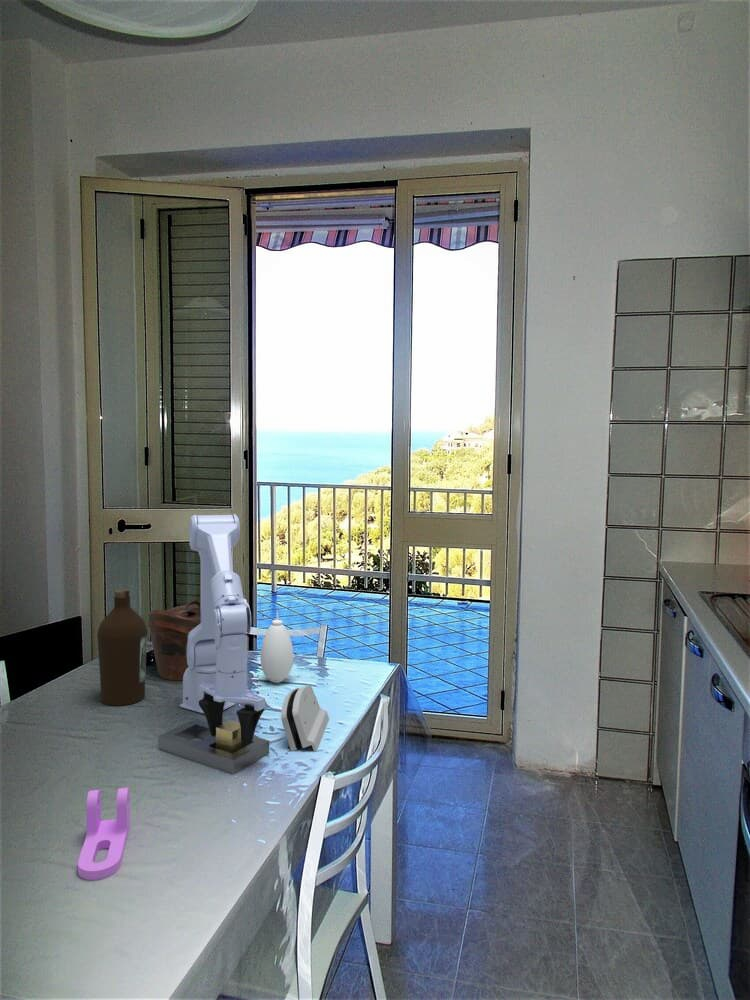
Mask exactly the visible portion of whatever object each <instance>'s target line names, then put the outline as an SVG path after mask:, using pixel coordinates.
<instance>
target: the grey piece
mask: <svg viewBox="0 0 750 1000" xmlns="http://www.w3.org/2000/svg"><path fill="white" fill-rule="evenodd" d="M280 712H281V714H280V719H281V722H282V726H283V729H284V732H285V736H286V740H287V742H288V745H289V746H288V747H289V750H290V751H291V752H292V751H293V752H295V751H297V750H298V748H299V747H302V749H305V748H308V747H310V746H311V747H312V750H313V752H314V753H317V752H318V749H319V747H320V743H321V742H322V739H323V736H324V734H325V732H326V731H325V730H326V728H327V726H328V723H329V720H330V717H329V714H328V712H327V710H325V709H322V708H321V707H320V704H319V701H318V699H317V697H316V694H315V691H314V689H313V687H312V686H311V685H305V686H303V685H302V686H301V687H297V688H294V689H293V690H291V691H288V693H287V694H286V696H285V697H284V700H283V703H282V707H281V711H280Z"/></svg>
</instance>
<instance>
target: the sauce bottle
mask: <svg viewBox="0 0 750 1000" xmlns="http://www.w3.org/2000/svg"><path fill="white" fill-rule="evenodd" d="M275 616H276V617H275V619H274V620H271V625H270V626H269V628H268V629H267V631H266V632H265V634H264V636H263V639H262V643H261V647H260V666H261V670H262V672H263V675H264V676H265V678H266V679H268V680H269V682H272V683H274V684H279V683H281V682H283V681H284V680H285V679H286V678H287V677H289V674H290V673H291V671H292V668H293V665H294V648H293V643H292V639H291V637H290V634H289V631H288V630H287V628H286V626H284V623H283V620H280V619H279V611H278V610H276V615H275Z"/></svg>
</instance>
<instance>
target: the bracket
mask: <svg viewBox="0 0 750 1000" xmlns="http://www.w3.org/2000/svg"><path fill="white" fill-rule="evenodd" d="M130 794H131V793H130V787H119V788H118V790H117V796H116V818H115V819H114V818H113V819H105V820H104V819H103V820H102V805H101V804H102V801H101V800H102V798H101V796H102V794H101V789H95V790H94V789H93V790H89V791H88V793H87V797H86V806H85V807H86V811H85V812H86V815H85V816H86V835H85V836H86V837H85V839H84V843H83V845H82V849H81V852H80V854H79V857H78V859H77V874H78V876H79V877H80V878H81V879H83V880H86V881H87V880H88V881H99V880H102V879H106V878H108V877H110V876H112V875H114V874H115V873H117V872H118V871H119V870H120V869H121V866H122V861H123V858H124V855H125V854H124V853H125V848H126V845H127V839H128V836H129V831H130V826H131V806H130V805H131V803H130V800H131V799H130V797H131V796H130ZM104 849H108V852H107V855H106V859H104V860H103V861H100V862H95V861H96V857H97V854H98V852H99V851H100V850H104Z"/></svg>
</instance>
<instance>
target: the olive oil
mask: <svg viewBox="0 0 750 1000" xmlns="http://www.w3.org/2000/svg"><path fill="white" fill-rule="evenodd" d="M113 598H114V599H113V601H114V602H113V603H114V606H113V608H112V610H111V611H110V612H109V613H108V614H107V615H106V616H105V617H104V618H103V619H102V621H101V622H100V624H99V626H98V628H97V629H98V630H97V633H96V634H97V635H96V637H97V649H98V662H99V663H98V665H99V678H100V679H99V681H100V700H101V703H103V704H104V705H106V706H107V705H108V706H112V707H113V706H115V707H119V706H128V705H132V704H136V703H138V702H140V701H142V700H143V699H144V698H145V695H146V667H147V645H148V643H147V642H148V629H147V627H148V626H147V624H146V622H145V620H144V619H143V617H142V616H141V615H140V614H138V613H137V611H135V610H134V609H133V607H131V596H130V590H129V589H127V588H121V589H120V588H119V589H116V590H114V596H113Z"/></svg>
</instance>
